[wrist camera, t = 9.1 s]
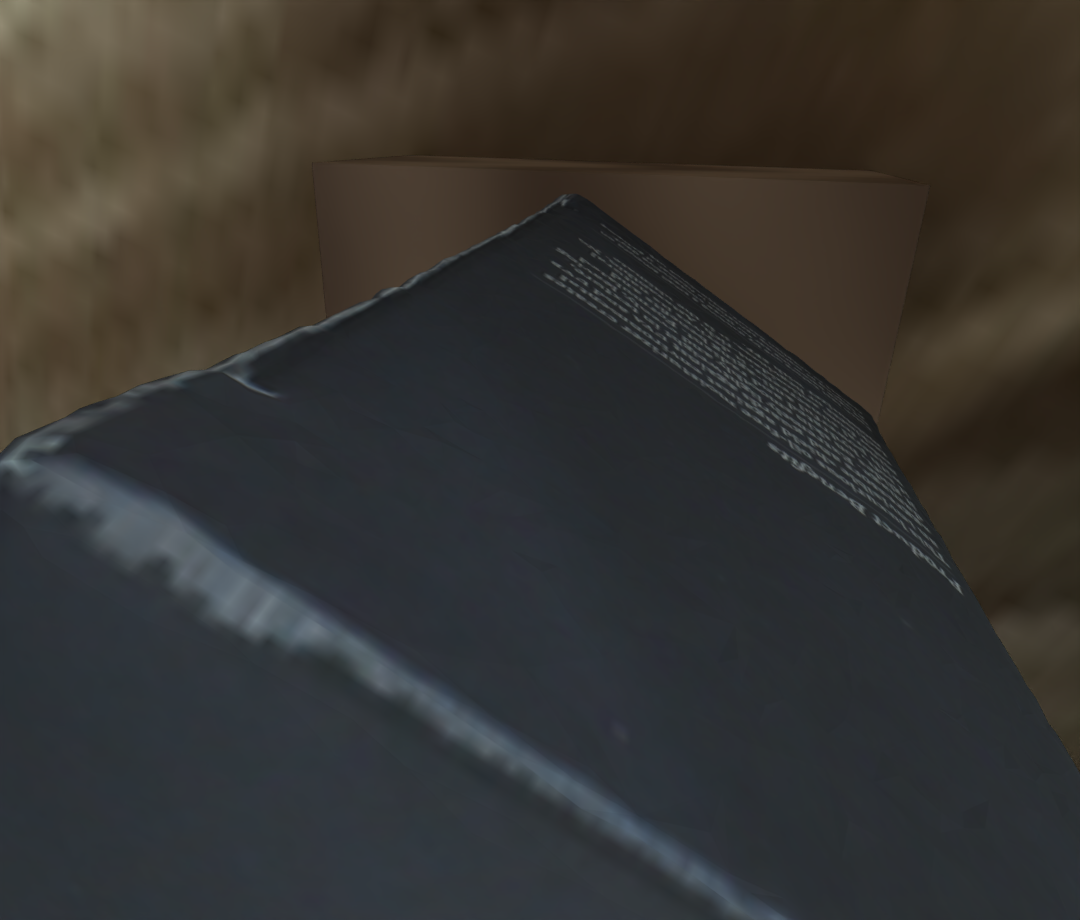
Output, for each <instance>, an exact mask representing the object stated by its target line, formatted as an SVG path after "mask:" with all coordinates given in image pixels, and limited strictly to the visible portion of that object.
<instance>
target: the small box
mask: <svg viewBox="0 0 1080 920" xmlns="http://www.w3.org/2000/svg"><path fill="white" fill-rule="evenodd" d="M0 920H1080V773H1079V771H1078V769H1077V768H1076V766H1075V764H1074V762H1073V761H1072V759H1071V757H1070V755H1069V754H1068V752H1067V750H1066V749H1065V747H1064V745H1063V744H1062V742H1061V740H1060V739H1059V737H1058V735H1057V734H1056V732H1055V731H1054V730H1053V729H1052V727H1051V726H1050V725H1049V723H1048V721H1047V719H1046V717H1045V715H1044V713H1043V711H1042V709H1041V708H1040V706H1039V704H1038V702H1037V700H1036V698H1035V696H1034V695H1033V694H1032V692H1031V691H1030V689H1029V688H1028V686H1027V685H1026V683H1025V682H1024V680H1023V678H1022V676H1021V674H1020V672H1019V671H1018V669H1017V667H1016V665H1015V664H1014V662H1013V661H1012V659H1011V657H1010V656H1009V654H1008V652H1007V651H1006V649H1005V647H1004V646H1003V644H1002V642H1001V641H1000V639H999V638H998V636H997V635H996V633H995V631H994V629H993V628H992V626H991V624H990V622H989V620H988V619H987V617H986V615H985V613H984V611H983V610H982V608H981V606H980V604H979V602H978V601H977V599H976V597H975V595H974V594H973V592H972V590H971V589H970V587H969V585H968V584H967V582H966V580H965V579H964V577H963V576H962V574H961V572H960V571H959V569H958V567H957V566H956V564H955V563H954V561H953V559H952V557H951V555H950V553H949V551H948V549H947V547H946V545H945V543H944V541H943V539H942V537H941V536H940V535H939V533H938V532H937V531H936V530H935V528H934V526H933V524H932V522H931V520H930V518H929V516H928V514H927V512H926V510H925V509H924V508H923V506H922V505H921V503H920V502H919V500H918V498H917V496H916V494H915V492H914V490H913V488H912V486H911V484H910V483H909V482H908V480H907V479H906V477H905V476H904V474H903V473H902V471H901V469H900V468H899V466H898V464H897V462H896V460H895V458H894V457H893V455H892V453H891V452H890V450H889V449H888V448H887V446H886V443H885V442H884V440H883V438H882V436H881V434H880V433H879V430H878V427H877V424H876V423H875V421H874V420H873V417H872V415H871V414H870V413H868V412H867V411H866V410H865V409H864V408H863V407H862V406H860V405H859V404H858V403H857V402H855V401H854V400H852V399H851V398H850V397H848V396H847V395H846V394H844V393H843V392H842V391H841V390H840V389H838V388H837V387H836V386H834V385H833V384H831V383H830V382H829V381H828V380H827V379H825V378H824V377H823V376H822V375H820V374H819V373H817V372H816V371H815V370H813V369H812V368H811V367H810V366H808V365H807V364H806V363H805V362H804V361H803V360H801V359H800V358H799V357H798V356H796V355H795V354H793V353H791V352H790V351H788V350H786V349H785V348H784V347H783V346H782V345H780V344H779V343H778V342H777V341H775V340H774V339H773V338H771V337H770V336H769V335H768V334H766V333H765V332H764V331H762V330H761V329H760V328H759V327H757V326H756V325H755V324H753V323H752V322H750V321H749V320H747V319H746V318H744V317H743V316H742V315H741V314H739V313H738V312H737V311H736V310H734V309H733V308H732V307H730V306H729V305H728V304H726V303H725V302H724V301H722V300H721V299H720V298H718V297H717V296H716V295H714V294H713V293H712V292H710V291H709V290H707V289H706V288H705V287H703V286H702V285H701V284H700V283H698V282H697V281H696V280H695V279H693V278H692V277H690V276H689V275H687V274H686V273H684V272H683V271H682V270H680V269H679V268H678V267H677V266H675V265H674V264H673V263H671V262H670V261H668V260H667V259H666V258H664V257H663V256H662V255H661V254H659V253H658V252H657V251H656V250H655V249H653V248H652V247H651V246H650V245H648V244H647V243H645V242H644V241H642V240H641V239H640V238H638V237H637V236H636V235H634V234H633V233H632V232H630V231H629V230H628V229H626V228H625V227H624V226H622V225H621V224H620V223H618V222H617V221H616V220H614V219H613V218H612V217H610V216H609V215H608V214H606V213H605V212H603V211H602V210H601V209H600V208H598V207H597V206H596V205H595V204H594V203H592V202H591V201H589V200H588V199H586V198H584V197H582V196H581V195H579V194H565V195H561V196H559V197H558V198H556V199H555V200H554V201H553V202H552V203H550V204H548V205H546V206H545V207H544V208H543V209H542V210H540V211H538V212H536V213H535V214H534V215H531V216H528V217H527V218H525V219H523V220H522V221H521V222H520V223H518V224H517V225H515V224H514V225H512V226H510V227H508V228H507V229H505V230H503V231H501V232H498V233H497V234H496V235H494V236H491V237H489V238H487V239H485V240H484V241H482V242H481V243H478V244H476V245H473V246H471V247H470V248H468V249H467V250H464V251H462V252H460V253H458V254H457V255H455V256H452V257H449V258H445V259H443V260H441V261H440V262H439V263H437V264H436V265H435V266H433V267H432V268H430V269H429V270H427V271H426V272H422V273H419V274H417V275H415V276H413V277H411V278H410V279H408V280H407V281H405V282H404V283H403V284H402V285H401V286H399V287H390V288H386V289H382V290H380V291H379V292H378V293H376V294H375V295H374V296H373V298H372V299H370V300H367V301H363V302H359V303H357V304H355V305H353V306H351V307H349V308H347V309H345V310H343V311H341V312H339V313H337V314H335V315H333V316H331V317H329V318H327V319H325V320H323V321H321V322H319V323H317V324H315V325H312V326H304V327H298V328H296V329H294V330H292V331H290V332H288V333H286V334H284V335H282V336H280V337H278V338H275V339H272V340H270V341H267V342H265V343H262V344H260V345H258V346H256V347H254V348H252V349H250V350H248V351H246V352H243V353H240V354H236V355H233V356H231V357H229V358H227V359H225V360H223V361H221V362H219V363H217V364H216V365H214V366H212V367H210V368H208V369H206V370H192V371H186V372H182V373H179V374H175V375H172V376H168V377H165V378H161V379H158V380H155V381H152V382H148V383H145V384H142V385H139V386H137V387H135V388H133V389H131V390H129V391H127V392H125V393H123V394H121V395H119V396H116V397H113V398H110V399H106V400H103V401H100V402H97V403H94V404H91V405H88V406H85V407H83V408H80V409H78V410H77V411H75V412H73V413H72V414H70V415H68V416H67V417H65V418H63V419H60V420H58V421H55V422H53V423H51V424H48V425H46V426H44V427H41V428H39V429H36V430H34V431H32V432H29V433H27V434H24V435H22V436H20V437H17V438H15V439H14V440H13V441H12V442H11V443H10V444H9V445H8V446H7V447H6V448H5V449H4V450H3V451H2V452H1V453H0Z"/></svg>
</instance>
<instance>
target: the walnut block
mask: <svg viewBox="0 0 1080 920" xmlns="http://www.w3.org/2000/svg"><path fill="white" fill-rule="evenodd" d="M312 169H313V180H314V190H315V201H316V212H317V223H318V233H319V244H320V255H321V265H322V276H323V287H324V297H325V308H326V319H327V318H329V317H331V316H333V315H335V314H337V313H339V312H341V311H343V310H345V309H347V308H349V307H351V306H353V305H355V304H357V303H359V302H363V301H367V300H370V299H372V298H373V296H374V295H375V294H376V293H378V292H379V291H380V290H382V289H386V288H390V287H399V286H401V285H402V284H403V283H404V282H405V281H407V280H408V279H410V278H411V277H413V276H415V275H417V274H419V273H422V272H426V271H427V270H429V269H430V268H432V267H433V266H435V265H436V264H437V263H439V262H440V261H441V260H443V259H445V258H449V257H452V256H455V255H457V254H458V253H460V252H462V251H464V250H467V249H468V248H470V247H471V246H473V245H476V244H478V243H481V242H482V241H484V240H485V239H487V238H489V237H491V236H494V235H496V234H497V233H498V232H501V231H503V230H505V229H507V228H508V227H510V226H512V225H514V224H515V225H517V224H518V223H520V222H521V221H522V220H523V219H525V218H527V217H528V216H531V215H534V214H535V213H536V212H538V211H540V210H542V209H543V208H544V207H545V206H546V205H548V204H550V203H552V202H553V201H554V200H555V199H556V198H558V197H559V196H561V195H565V194H579V195H581V196H582V197H584V198H586V199H588V200H589V201H591V202H592V203H594V204H595V205H596V206H597V207H598V208H600V209H601V210H602V211H603V212H605V213H606V214H608V215H609V216H610V217H612V218H613V219H614V220H616V221H617V222H618V223H620V224H621V225H622V226H624V227H625V228H626V229H628V230H629V231H630V232H632V233H633V234H634V235H636V236H637V237H638V238H640V239H641V240H642V241H644V242H645V243H647V244H648V245H650V246H651V247H652V248H653V249H655V250H656V251H657V252H658V253H659V254H661V255H662V256H663V257H664V258H666V259H667V260H668V261H670V262H671V263H673V264H674V265H675V266H677V267H678V268H679V269H680V270H682V271H683V272H684V273H686V274H687V275H689V276H690V277H692V278H693V279H695V280H696V281H697V282H698V283H700V284H701V285H702V286H703V287H705V288H706V289H707V290H709V291H710V292H712V293H713V294H714V295H716V296H717V297H718V298H720V299H721V300H722V301H724V302H725V303H726V304H728V305H729V306H730V307H732V308H733V309H734V310H736V311H737V312H738V313H739V314H741V315H742V316H743V317H744V318H746V319H747V320H749V321H750V322H752V323H753V324H755V325H756V326H757V327H759V328H760V329H761V330H762V331H764V332H765V333H766V334H768V335H769V336H770V337H771V338H773V339H774V340H775V341H777V342H778V343H779V344H780V345H782V346H783V347H784V348H785V349H786V350H788V351H790V352H791V353H793V354H795V355H796V356H798V357H799V358H800V359H801V360H803V361H804V362H805V363H806V364H807V365H808V366H810V367H811V368H812V369H813V370H815V371H816V372H817V373H819V374H820V375H822V376H823V377H824V378H825V379H827V380H828V381H829V382H830V383H831V384H833V385H834V386H836V387H837V388H838V389H840V390H841V391H842V392H843V393H844V394H846V395H847V396H848V397H850V398H851V399H852V400H854V401H855V402H857V403H858V404H859V405H860V406H862V407H863V408H864V409H865V410H866V411H867V412H868V413H870V414H871V415H872V417H873V420H874V421H875V423H876V424H878V420H879V415H880V411H881V406H882V402H883V397H884V393H885V388H886V384H887V379H888V374H889V370H890V365H891V361H892V356H893V352H894V347H895V343H896V338H897V334H898V329H899V325H900V320H901V316H902V311H903V307H904V302H905V298H906V293H907V289H908V284H909V280H910V275H911V271H912V266H913V262H914V257H915V253H916V248H917V244H918V239H919V234H920V230H921V225H922V221H923V216H924V212H925V207H926V203H927V198H928V194H929V189H930V185H927V184H923V183H919V182H915V181H911V180H907V179H903V178H899V177H895V176H891V175H887V174H883V173H879V172H875V171H870V170H840V169H810V168H780V167H750V166H720V165H690V164H661V163H631V162H601V161H571V160H541V159H511V158H482V157H452V156H422V155H407V156H394V157H381V158H368V159H355V160H342V161H329V162H316V163H312Z"/></svg>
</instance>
